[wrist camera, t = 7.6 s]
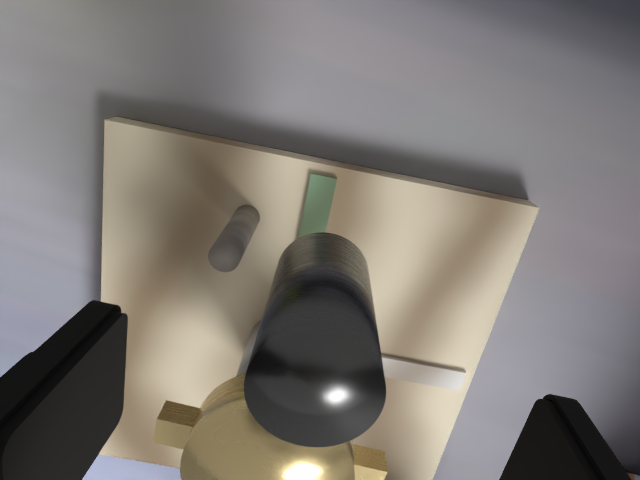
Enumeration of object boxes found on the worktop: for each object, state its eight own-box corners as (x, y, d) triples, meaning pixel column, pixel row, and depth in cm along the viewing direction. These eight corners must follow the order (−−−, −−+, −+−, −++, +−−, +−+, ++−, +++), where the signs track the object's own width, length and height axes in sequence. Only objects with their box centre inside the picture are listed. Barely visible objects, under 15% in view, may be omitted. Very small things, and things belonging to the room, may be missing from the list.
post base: (529, 200, 22) (610, 259, 16) (417, 492, 29) (440, 615, 23) (116, 116, 21) (19, 141, 15) (107, 438, 29) (39, 550, 22)
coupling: (202, 199, 15) (122, 281, 9) (462, 267, 16) (532, 384, 10) (154, 467, 19) (81, 631, 14) (357, 512, 20) (365, 688, 14)
